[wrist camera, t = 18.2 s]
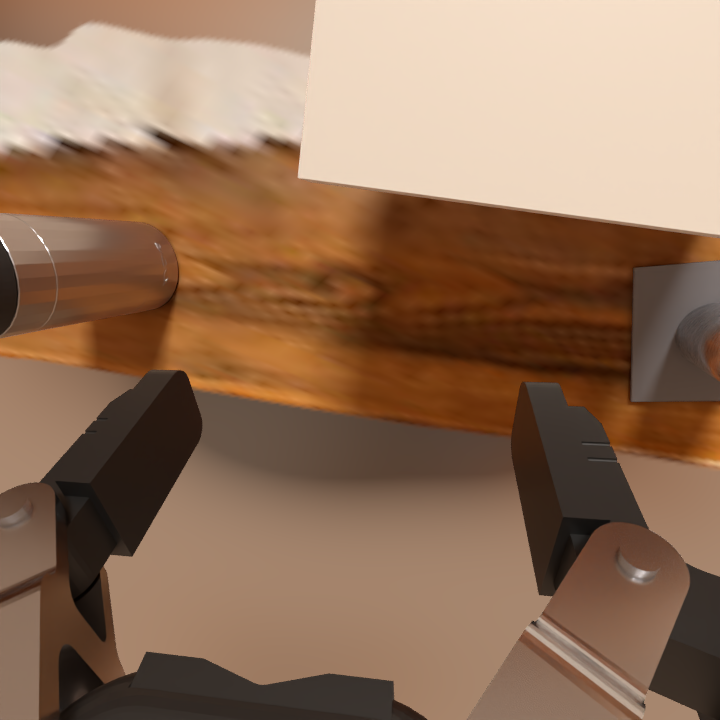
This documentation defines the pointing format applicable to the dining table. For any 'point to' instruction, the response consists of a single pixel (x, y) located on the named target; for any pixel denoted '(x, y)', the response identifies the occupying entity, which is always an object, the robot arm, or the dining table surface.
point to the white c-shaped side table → (522, 106)
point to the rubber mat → (669, 331)
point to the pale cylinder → (701, 338)
